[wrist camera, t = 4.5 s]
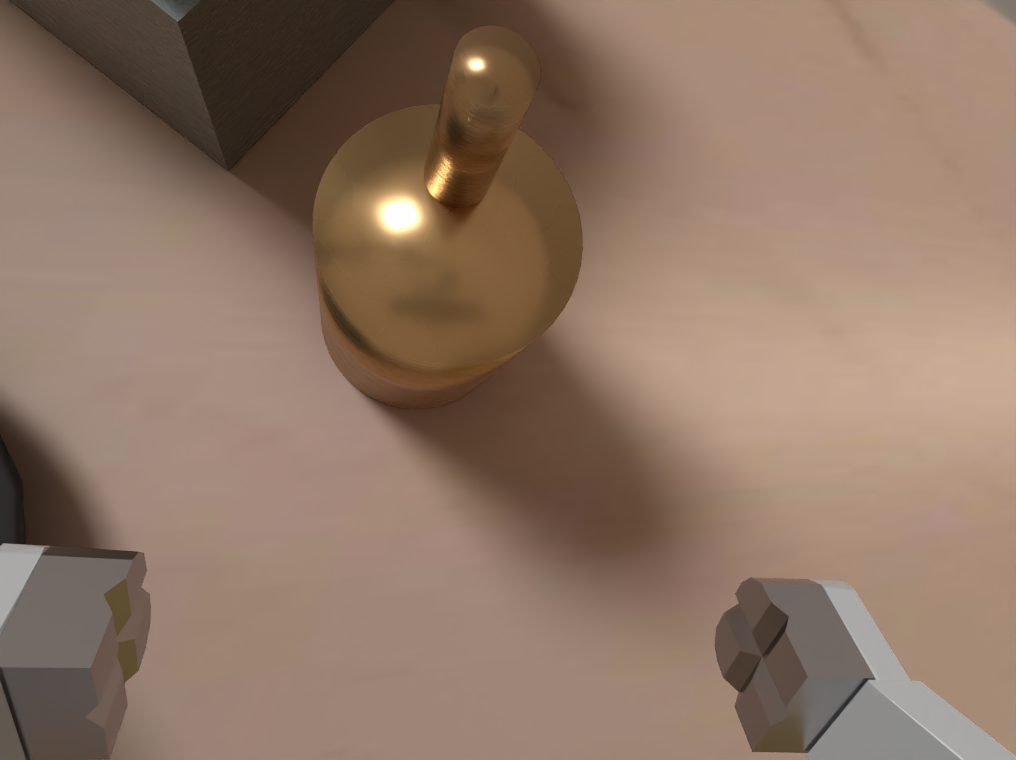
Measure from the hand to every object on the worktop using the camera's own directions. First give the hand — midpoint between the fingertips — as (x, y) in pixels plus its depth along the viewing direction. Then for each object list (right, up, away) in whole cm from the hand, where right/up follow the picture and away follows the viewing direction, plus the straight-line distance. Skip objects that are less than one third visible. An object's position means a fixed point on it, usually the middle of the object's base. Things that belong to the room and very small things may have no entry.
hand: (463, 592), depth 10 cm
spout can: (-2, +5, +12) cm, 13 cm away
